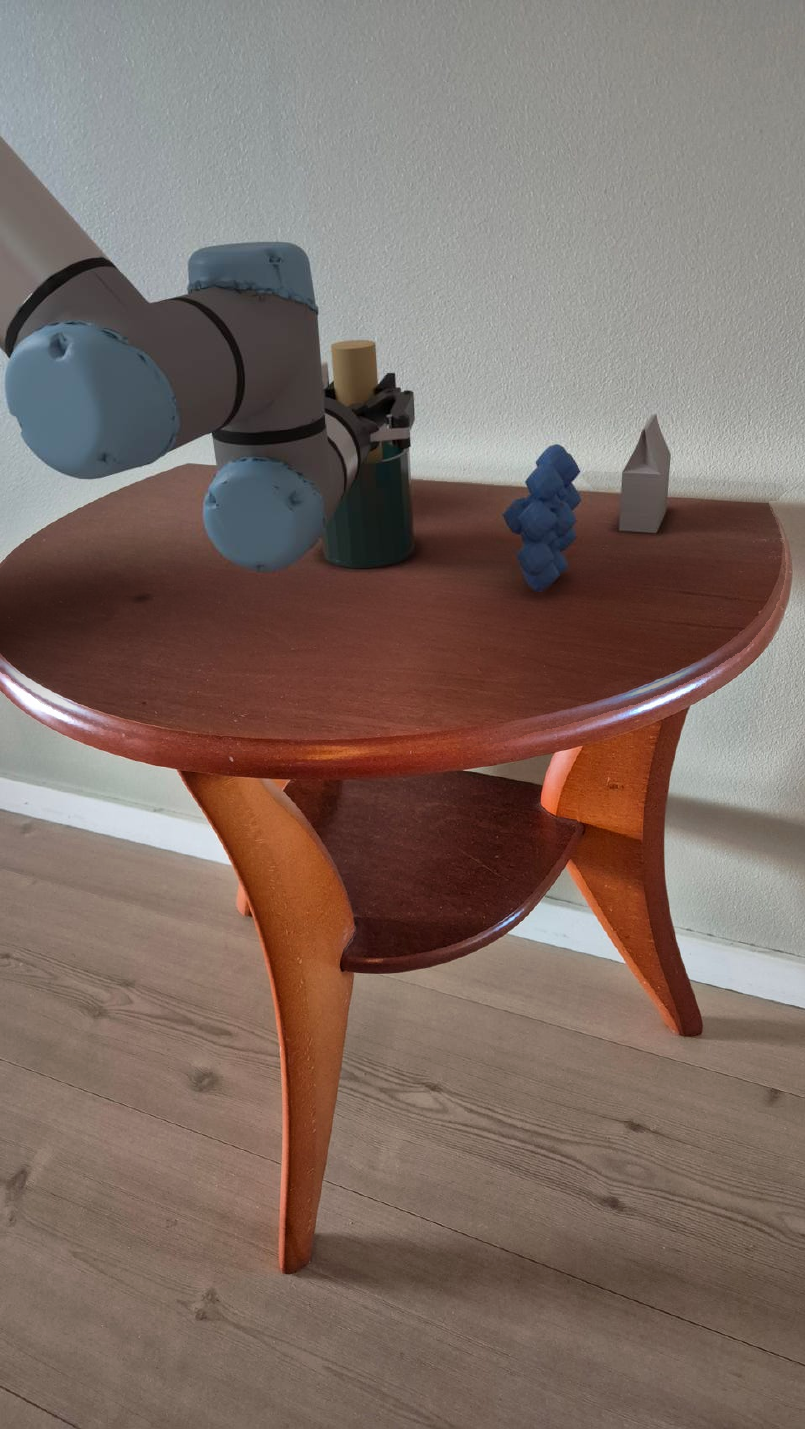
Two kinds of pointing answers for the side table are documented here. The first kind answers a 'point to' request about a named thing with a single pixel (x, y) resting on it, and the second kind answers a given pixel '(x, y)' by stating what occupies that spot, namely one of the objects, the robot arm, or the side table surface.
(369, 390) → the tan cylinder
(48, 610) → the side table surface
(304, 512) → the robot arm
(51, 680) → the side table surface
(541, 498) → the grapes
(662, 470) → the grey milk carton
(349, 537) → the dark green cup
